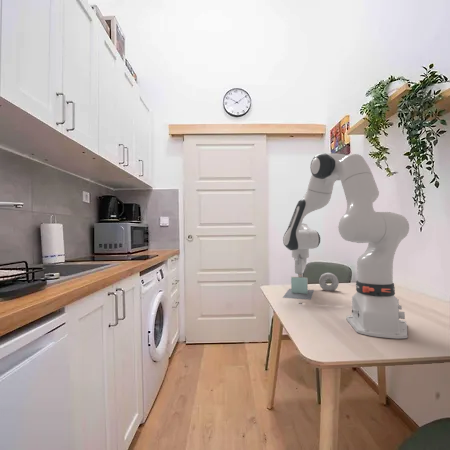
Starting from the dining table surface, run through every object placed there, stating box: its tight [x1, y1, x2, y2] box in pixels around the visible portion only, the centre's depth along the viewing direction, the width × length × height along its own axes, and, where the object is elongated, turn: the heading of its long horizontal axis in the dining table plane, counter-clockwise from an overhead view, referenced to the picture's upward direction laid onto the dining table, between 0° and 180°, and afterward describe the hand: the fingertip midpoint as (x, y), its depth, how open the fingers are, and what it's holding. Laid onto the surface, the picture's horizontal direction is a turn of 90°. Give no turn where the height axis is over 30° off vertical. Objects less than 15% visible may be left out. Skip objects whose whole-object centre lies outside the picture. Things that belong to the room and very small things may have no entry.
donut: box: [318, 272, 340, 292], centre depth 150 cm, size 10×4×10 cm, turn 60°
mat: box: [282, 288, 315, 301], centre depth 142 cm, size 22×13×1 cm, turn 159°
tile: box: [290, 276, 309, 294], centre depth 144 cm, size 2×8×8 cm, turn 69°
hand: (300, 280), depth 150 cm, fingers closed
